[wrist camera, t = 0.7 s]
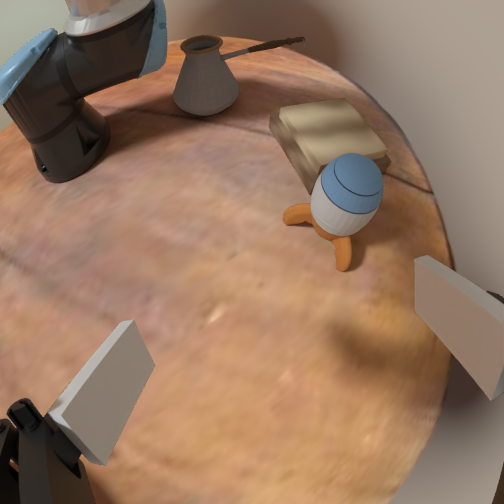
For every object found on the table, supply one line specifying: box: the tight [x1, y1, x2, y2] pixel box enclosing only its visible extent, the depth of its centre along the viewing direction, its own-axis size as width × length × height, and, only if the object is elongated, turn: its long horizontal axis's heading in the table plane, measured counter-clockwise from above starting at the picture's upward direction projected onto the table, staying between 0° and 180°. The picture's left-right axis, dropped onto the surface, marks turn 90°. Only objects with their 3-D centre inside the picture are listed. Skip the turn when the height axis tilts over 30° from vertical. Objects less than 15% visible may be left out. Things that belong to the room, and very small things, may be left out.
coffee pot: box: [173, 35, 307, 116], centre depth 38 cm, size 21×12×15 cm, turn 84°
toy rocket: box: [283, 153, 383, 272], centre depth 30 cm, size 10×11×15 cm
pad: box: [269, 98, 391, 195], centre depth 39 cm, size 14×14×5 cm
